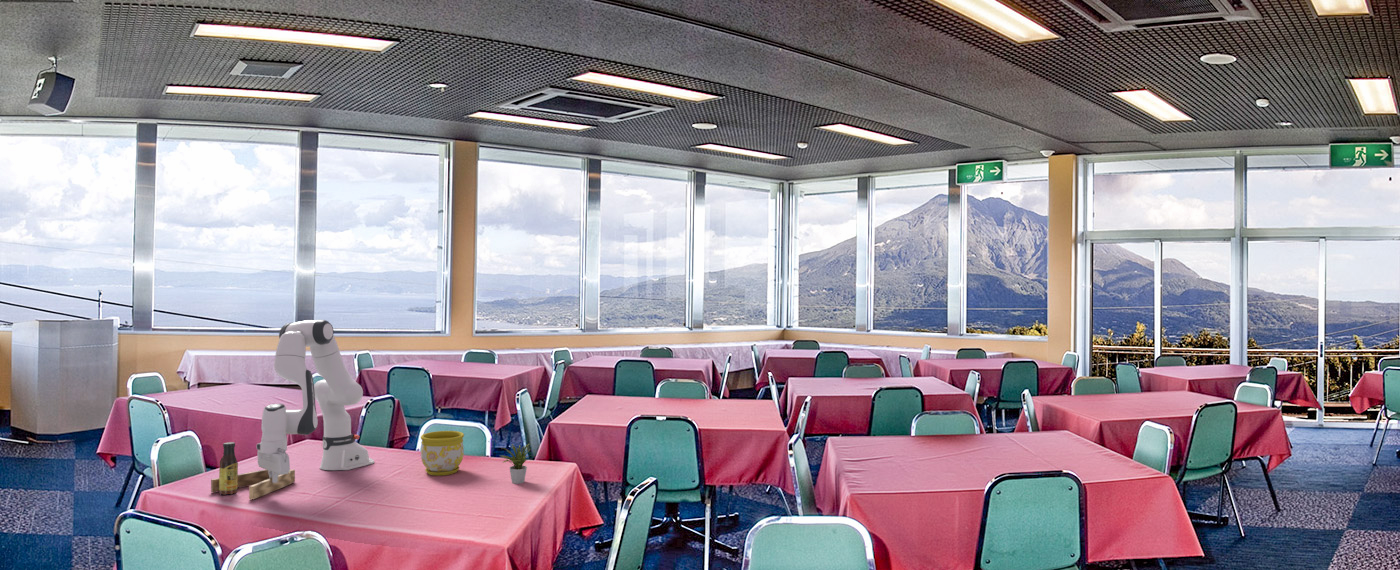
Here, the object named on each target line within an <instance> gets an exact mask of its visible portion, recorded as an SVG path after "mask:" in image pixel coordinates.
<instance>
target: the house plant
mask: <svg viewBox="0 0 1400 570" xmlns="http://www.w3.org/2000/svg"><path fill="white" fill-rule="evenodd" d="M529 446H530V443H528V444H525V445H524V446H522V447H521V444H519V445H518V447H517V446H515V445H514V444H513V443H511V449H512V450H513V452H514V453H513V452H512V450H509V449H507V448H503V447H502V449H504V450H505V451H506V452H508V454H510V456H511V457H510V456H508V455H499V457H502V458H503V459H505V460H503V462H502V464H504V463H506V462H509V463H510V464H511V465H512V466H510V467H509V474H510V479H511V483H512V484H516V485H518V484H519V485H520V484H523V483H525V480H526V475H527V474H526V473H527V469H528V468H527V466H526V465H524V464H525V463H526V462H527V461H528V460H529V458H527V456H526V455H527V454H528V452H530V450H531V448H529ZM531 460H533V458H531Z"/></svg>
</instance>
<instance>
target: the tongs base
mask: <svg viewBox="0 0 1400 570" xmlns="http://www.w3.org/2000/svg"><path fill="white" fill-rule="evenodd" d="M267 479H270V477H269V474H268V470H266V469H261V470H255V471H250V472H244V473H238V480H237V489H239V488H238V487H240V488H244V487H243V486H245V487H249V485H250V486H252V485H254V484H257V483H259V482H262V481H265V480H267ZM216 491H219V477H217V478H211V479H210V492H211V493H212V492H214V493H217V492H216Z"/></svg>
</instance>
